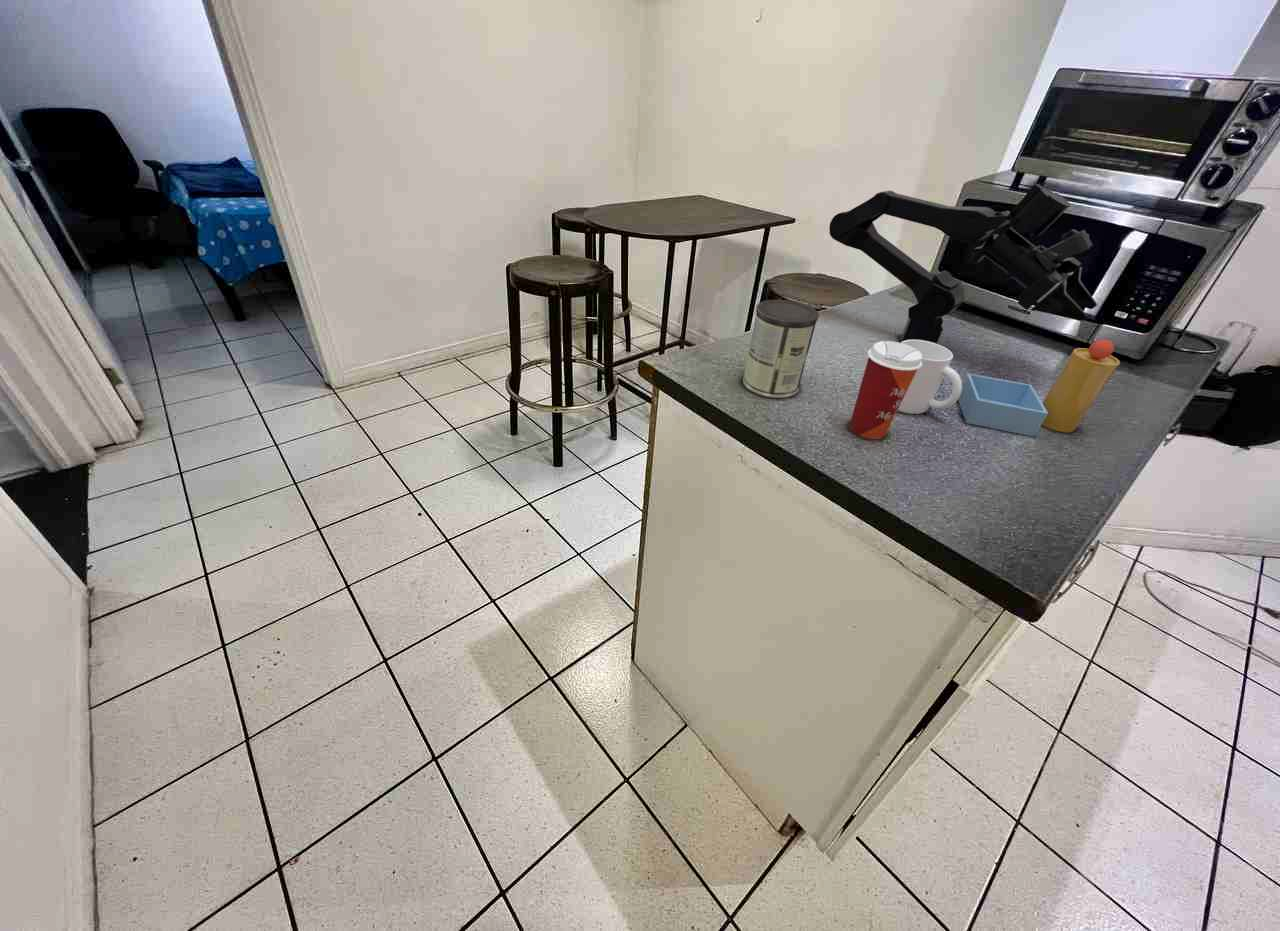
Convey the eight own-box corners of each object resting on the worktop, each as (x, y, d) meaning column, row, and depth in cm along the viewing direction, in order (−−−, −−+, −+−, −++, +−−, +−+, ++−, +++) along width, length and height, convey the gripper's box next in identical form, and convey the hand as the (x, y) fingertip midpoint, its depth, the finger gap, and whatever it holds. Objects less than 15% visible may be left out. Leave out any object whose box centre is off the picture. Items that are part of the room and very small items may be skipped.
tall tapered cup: (1039, 427, 89) (1080, 360, 82) (1029, 410, 94) (1068, 345, 86) (1080, 435, 88) (1126, 368, 80) (1068, 417, 93) (1111, 352, 85)
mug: (958, 417, 90) (985, 362, 84) (932, 430, 86) (959, 374, 80) (896, 387, 98) (917, 335, 92) (870, 398, 94) (890, 345, 88)
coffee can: (761, 366, 102) (777, 294, 93) (808, 385, 97) (830, 311, 88) (731, 383, 96) (744, 307, 87) (779, 404, 90) (799, 326, 82)
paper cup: (886, 448, 81) (921, 367, 73) (837, 432, 84) (865, 351, 76) (896, 426, 87) (929, 348, 78) (849, 412, 90) (876, 334, 81)
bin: (965, 423, 89) (977, 400, 86) (956, 394, 97) (966, 373, 94) (1034, 436, 87) (1048, 413, 84) (1018, 406, 95) (1031, 384, 92)
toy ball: (1088, 359, 83) (1099, 342, 81) (1081, 352, 85) (1092, 334, 83) (1109, 363, 82) (1121, 345, 80) (1102, 356, 84) (1114, 338, 82)
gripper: (1045, 224, 85) (1128, 285, 81) (1070, 211, 96) (1145, 265, 92) (987, 280, 94) (1061, 339, 89) (1017, 263, 104) (1083, 314, 100)
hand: (1089, 312), depth 93 cm, fingers open, 9 cm apart
